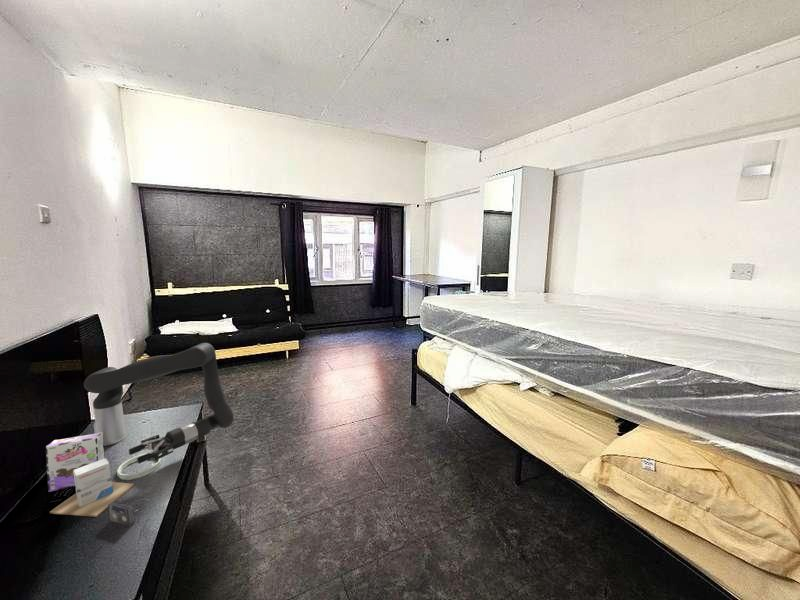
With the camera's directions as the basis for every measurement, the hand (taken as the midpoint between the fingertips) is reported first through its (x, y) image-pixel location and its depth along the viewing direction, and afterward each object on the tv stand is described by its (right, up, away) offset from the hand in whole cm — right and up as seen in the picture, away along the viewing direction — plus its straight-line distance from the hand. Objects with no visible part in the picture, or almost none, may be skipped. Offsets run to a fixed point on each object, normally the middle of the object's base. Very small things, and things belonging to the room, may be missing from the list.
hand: (133, 456), depth 117 cm
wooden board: (-7, -10, -8) cm, 15 cm away
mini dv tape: (+11, -13, -17) cm, 24 cm away
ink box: (-6, -10, -8) cm, 14 cm away
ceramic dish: (-4, -8, +8) cm, 12 cm away
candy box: (-19, -9, -2) cm, 21 cm away
